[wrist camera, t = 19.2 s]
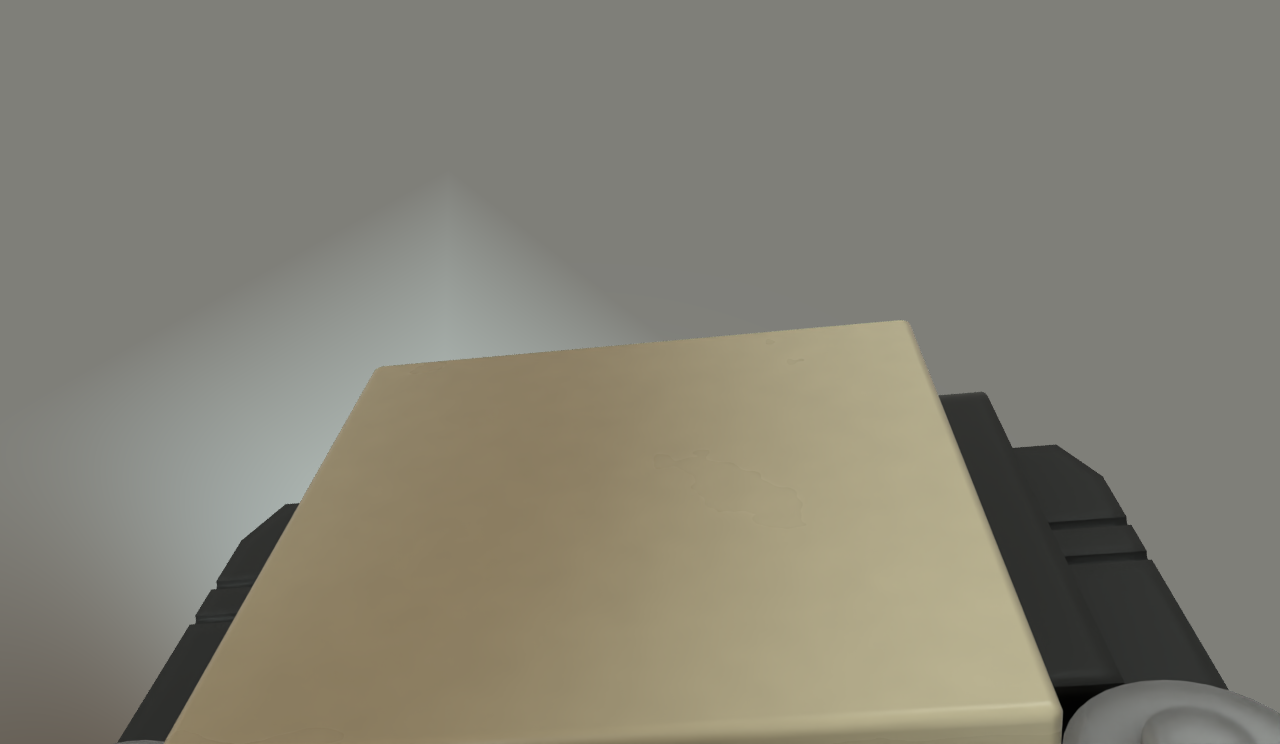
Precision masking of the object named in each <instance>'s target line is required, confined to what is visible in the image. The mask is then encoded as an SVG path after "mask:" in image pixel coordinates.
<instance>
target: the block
mask: <svg viewBox="0 0 1280 744" xmlns="http://www.w3.org/2000/svg"><path fill="white" fill-rule="evenodd" d="M1062 720H1063V710H1062V707H1061V705H1060V702H1059V700H1058V697H1057V695H1056V692H1055V689H1054V687H1053V684H1052V682H1051V679H1050V677H1049V674H1048V672H1047V669H1046V667H1045V664H1044V662H1043V659H1042V657H1041V654H1040V652H1039V649H1038V646H1037V644H1036V641H1035V639H1034V636H1033V634H1032V631H1031V629H1030V626H1029V624H1028V621H1027V619H1026V616H1025V614H1024V611H1023V608H1022V606H1021V603H1020V601H1019V598H1018V596H1017V593H1016V591H1015V588H1014V586H1013V583H1012V581H1011V578H1010V576H1009V573H1008V571H1007V568H1006V565H1005V563H1004V560H1003V558H1002V555H1001V553H1000V550H999V548H998V545H997V543H996V540H995V538H994V535H993V533H992V530H991V528H990V525H989V522H988V520H987V517H986V515H985V512H984V510H983V507H982V505H981V502H980V500H979V497H978V495H977V492H976V490H975V487H974V485H973V482H972V479H971V477H970V474H969V472H968V469H967V467H966V464H965V462H964V459H963V457H962V454H961V452H960V449H959V447H958V444H957V442H956V439H955V436H954V434H953V431H952V429H951V426H950V424H949V421H948V419H947V416H946V414H945V411H944V409H943V406H942V404H941V401H940V398H939V396H938V393H937V391H936V388H935V386H934V383H933V381H932V378H931V376H930V373H929V371H928V368H927V366H926V363H925V361H924V358H923V356H922V353H921V351H920V348H919V345H918V343H917V340H916V338H915V335H914V333H913V331H912V328H911V326H910V324H909V322H907V321H903V320H896V321H885V322H874V323H863V324H852V325H842V326H829V327H819V328H808V329H796V330H785V331H774V332H762V333H751V334H740V335H729V336H718V337H707V338H695V339H685V340H673V341H662V342H652V343H640V344H629V345H618V346H606V347H595V348H584V349H574V350H573V349H572V350H561V351H551V352H539V353H528V354H518V355H517V354H516V355H506V356H494V357H483V358H472V359H461V360H449V361H438V362H428V363H416V364H405V365H393V366H383V367H380V368H378V369H376V370H375V371H374V373H373V375H372V376H371V378H370V380H369V382H368V383H367V385H366V387H365V389H364V390H363V392H362V394H361V396H360V397H359V399H358V401H357V403H356V404H355V406H354V408H353V410H352V412H351V413H350V415H349V417H348V419H347V420H346V422H345V424H344V426H343V427H342V429H341V431H340V433H339V435H338V436H337V438H336V440H335V442H334V443H333V445H332V447H331V449H330V451H329V452H328V454H327V456H326V458H325V459H324V461H323V463H322V465H321V467H320V468H319V470H318V472H317V474H316V475H315V477H314V479H313V480H312V482H311V484H310V486H309V488H308V489H307V491H306V493H305V495H304V496H303V498H302V500H301V502H300V503H299V505H298V507H297V509H296V511H295V512H294V514H293V516H292V518H291V519H290V521H289V523H288V525H287V526H286V528H285V530H284V532H283V534H282V535H281V537H280V539H279V541H278V542H277V544H276V546H275V548H274V549H273V551H272V553H271V555H270V556H269V558H268V560H267V562H266V564H265V565H264V567H263V569H262V571H261V572H260V574H259V576H258V578H257V579H256V581H255V583H254V585H253V587H252V588H251V590H250V592H249V594H248V595H247V597H246V599H245V601H244V602H243V604H242V606H241V608H240V609H239V611H238V613H237V615H236V617H235V618H234V620H233V622H232V624H231V625H230V627H229V629H228V631H227V632H226V634H225V636H224V638H223V640H222V641H221V643H220V645H219V647H218V648H217V650H216V652H215V654H214V655H213V657H212V659H211V661H210V663H209V664H208V666H207V668H206V670H205V671H204V673H203V675H202V677H201V678H200V680H199V682H198V684H197V685H196V687H195V689H194V691H193V693H192V694H191V696H190V698H189V700H188V701H187V703H186V705H185V707H184V708H183V710H182V712H181V714H180V716H179V717H178V719H177V721H176V723H175V724H174V726H173V728H172V730H171V731H170V733H169V735H168V737H167V739H166V740H165V742H164V744H1061V738H1062Z"/></svg>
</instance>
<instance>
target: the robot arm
mask: <svg viewBox="0 0 1280 744" xmlns="http://www.w3.org/2000/svg"><path fill="white" fill-rule="evenodd" d="M938 396H939V398H940V401H941V404H942V406H943V409H944V411H945V414H946V416H947V419H948V421H949V424H950V426H951V429H952V431H953V434H954V436H955V439H956V442H957V444H958V447H959V449H960V452H961V454H962V457H963V459H964V462H965V464H966V467H967V469H968V472H969V474H970V477H971V479H972V482H973V485H974V487H975V490H976V492H977V495H978V497H979V500H980V502H981V505H982V507H983V510H984V512H985V515H986V517H987V520H988V522H989V525H990V528H991V530H992V533H993V535H994V538H995V540H996V543H997V545H998V548H999V550H1000V553H1001V555H1002V558H1003V560H1004V563H1005V565H1006V568H1007V571H1008V573H1009V576H1010V578H1011V581H1012V583H1013V586H1014V588H1015V591H1016V593H1017V596H1018V598H1019V601H1020V603H1021V606H1022V608H1023V611H1024V614H1025V616H1026V619H1027V621H1028V624H1029V626H1030V629H1031V631H1032V634H1033V636H1034V639H1035V641H1036V644H1037V646H1038V649H1039V652H1040V654H1041V657H1042V659H1043V662H1044V664H1045V667H1046V669H1047V672H1048V674H1049V677H1050V679H1051V682H1052V684H1053V687H1054V689H1055V692H1056V695H1057V697H1058V700H1059V702H1060V705H1061V707H1062V710H1063V720H1062V738H1061V744H1280V714H1279V713H1278V712H1276V711H1275V710H1273V709H1271V708H1269V707H1267V706H1265V705H1263V704H1261V703H1259V702H1257V701H1255V700H1253V699H1250V698H1247V697H1245V696H1243V695H1240V694H1237V693H1235V692H1232V691H1229V690H1228V688H1227V686H1226V684H1225V683H1224V681H1223V680H1222V678H1221V676H1220V674H1219V673H1218V671H1217V669H1216V668H1215V666H1214V664H1213V663H1212V661H1211V659H1210V658H1209V656H1208V654H1207V652H1206V651H1205V649H1204V647H1203V646H1202V644H1201V642H1200V641H1199V639H1198V637H1197V636H1196V634H1195V632H1194V630H1193V629H1192V627H1191V625H1190V624H1189V622H1188V621H1187V619H1186V617H1185V615H1184V614H1183V612H1182V610H1181V608H1180V607H1179V605H1178V603H1177V602H1176V600H1175V598H1174V597H1173V595H1172V593H1171V591H1170V590H1169V588H1168V586H1167V585H1166V583H1165V581H1164V580H1163V578H1162V576H1161V574H1160V573H1159V571H1158V569H1157V568H1156V566H1155V564H1154V563H1153V561H1152V560H1148V559H1147V551H1146V549H1145V547H1144V546H1143V544H1142V542H1141V541H1140V539H1139V537H1138V536H1137V534H1136V532H1135V530H1134V529H1133V527H1132V525H1127V521H1126V515H1125V514H1124V512H1123V510H1122V508H1121V507H1120V505H1119V503H1118V502H1117V500H1116V498H1115V497H1114V495H1113V493H1112V492H1111V490H1110V488H1109V486H1108V485H1107V483H1106V481H1105V480H1104V478H1103V476H1101V475H1100V474H1098V473H1097V472H1095V471H1094V470H1092V469H1091V468H1090V467H1088V466H1087V465H1085V464H1084V463H1082V462H1081V461H1079V460H1078V459H1076V458H1075V457H1074V456H1072V455H1071V454H1069V453H1068V452H1066V451H1065V450H1063V449H1062V448H1060V447H1059V446H1057V445H1045V446H1033V447H1020V448H1012V446H1011V444H1010V442H1009V440H1008V438H1007V436H1006V433H1005V431H1004V429H1003V427H1002V425H1001V423H1000V421H999V419H998V417H997V415H996V413H995V410H994V409H993V406H992V404H991V402H990V400H989V398H988V396H987V395H986V394H985V393H984V392H974V393H963V394H951V395H938ZM298 505H299V503H298V504H286V505H284V506H283V507H282V508H281V509H279V510H278V511H277V512H276V513H274V514H273V515H272V516H271V517H270V518H269V519H267V520H266V521H265V522H264V523H262V524H261V525H260V526H259V527H258V528H256V529H255V530H254V531H253V532H251V533H250V534H249V535H248V536H247V537H245V538H244V539H243V540H242V541H241V542H240V544H239V546H238V547H237V549H236V551H235V552H234V554H233V555H232V557H231V558H230V560H229V562H228V563H227V565H226V567H225V568H224V570H223V572H222V573H221V575H220V576H219V578H218V580H217V589H216V590H215V589H214V590H211V591H210V593H209V594H208V596H207V598H206V599H205V601H204V602H203V604H202V606H201V607H200V609H199V611H198V612H197V614H196V623H195V624H193V625H189V627H188V629H187V630H186V632H185V633H184V635H183V637H182V638H181V640H180V642H179V643H178V645H177V646H176V648H175V650H174V651H173V653H172V655H171V656H170V658H169V660H168V661H167V663H166V664H165V666H164V668H163V669H162V671H161V672H160V674H159V676H158V678H157V679H156V681H155V682H154V684H153V686H152V687H151V689H150V690H149V692H148V694H147V695H146V697H145V699H144V700H143V702H142V703H141V705H140V707H139V708H138V710H137V712H136V713H135V715H134V717H133V718H132V720H131V722H130V723H129V725H128V727H127V728H126V730H125V731H124V733H123V734H122V736H121V738H120V739H119V741H118V743H115V744H164V742H165V740H166V739H167V737H168V735H169V733H170V731H171V730H172V728H173V726H174V724H175V723H176V721H177V719H178V717H179V716H180V714H181V712H182V710H183V708H184V707H185V705H186V703H187V701H188V700H189V698H190V696H191V694H192V693H193V691H194V689H195V687H196V685H197V684H198V682H199V680H200V678H201V677H202V675H203V673H204V671H205V670H206V668H207V666H208V664H209V663H210V661H211V659H212V657H213V655H214V654H215V652H216V650H217V648H218V647H219V645H220V643H221V641H222V640H223V638H224V636H225V634H226V632H227V631H228V629H229V627H230V625H231V624H232V622H233V620H234V618H235V617H236V615H237V613H238V611H239V609H240V608H241V606H242V604H243V602H244V601H245V599H246V597H247V595H248V594H249V592H250V590H251V588H252V587H253V585H254V583H255V581H256V579H257V578H258V576H259V574H260V572H261V571H262V569H263V567H264V565H265V564H266V562H267V560H268V558H269V556H270V555H271V553H272V551H273V549H274V548H275V546H276V544H277V542H278V541H279V539H280V537H281V535H282V534H283V532H284V530H285V528H286V526H287V525H288V523H289V521H290V519H291V518H292V516H293V514H294V512H295V511H296V509H297V507H298Z"/></svg>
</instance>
